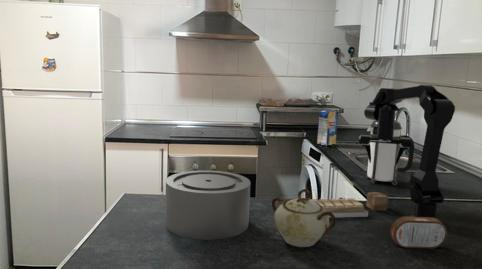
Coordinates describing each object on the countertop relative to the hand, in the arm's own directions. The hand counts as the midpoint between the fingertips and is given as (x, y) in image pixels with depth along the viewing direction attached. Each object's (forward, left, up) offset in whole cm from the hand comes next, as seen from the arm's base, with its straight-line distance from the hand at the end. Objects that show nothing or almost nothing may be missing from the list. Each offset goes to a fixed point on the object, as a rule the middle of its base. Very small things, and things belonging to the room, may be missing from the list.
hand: (382, 163), depth 158 cm
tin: (-43, +13, -14) cm, 47 cm away
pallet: (-14, +24, -12) cm, 30 cm away
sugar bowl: (-36, +44, -14) cm, 58 cm away
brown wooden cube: (-11, +7, -14) cm, 19 cm away
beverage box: (+107, -23, -14) cm, 110 cm away
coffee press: (+23, -15, -14) cm, 31 cm away
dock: (-14, +24, -14) cm, 31 cm away
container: (-20, +68, -14) cm, 72 cm away
